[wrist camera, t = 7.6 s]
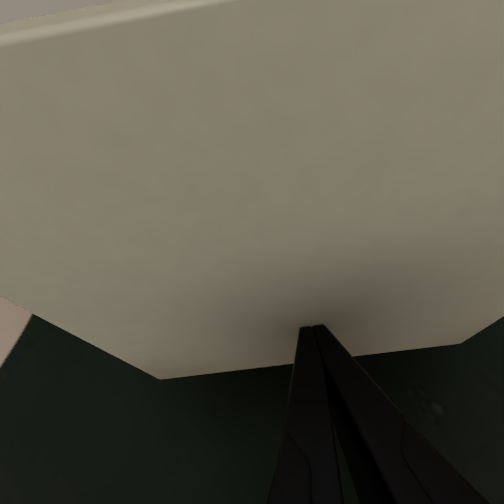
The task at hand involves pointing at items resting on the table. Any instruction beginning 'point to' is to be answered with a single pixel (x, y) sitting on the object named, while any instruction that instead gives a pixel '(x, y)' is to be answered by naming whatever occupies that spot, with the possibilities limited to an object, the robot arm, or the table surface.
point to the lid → (254, 176)
